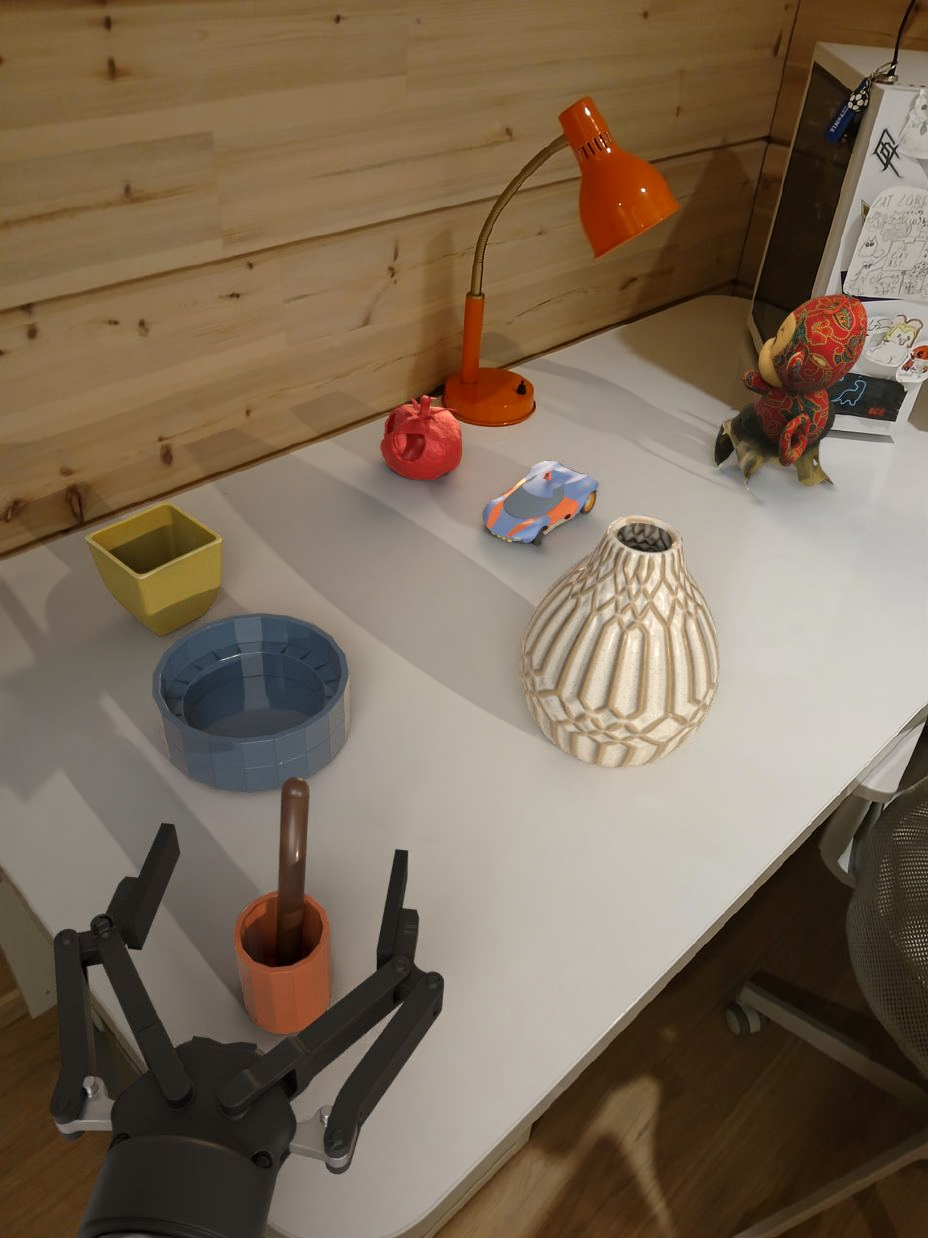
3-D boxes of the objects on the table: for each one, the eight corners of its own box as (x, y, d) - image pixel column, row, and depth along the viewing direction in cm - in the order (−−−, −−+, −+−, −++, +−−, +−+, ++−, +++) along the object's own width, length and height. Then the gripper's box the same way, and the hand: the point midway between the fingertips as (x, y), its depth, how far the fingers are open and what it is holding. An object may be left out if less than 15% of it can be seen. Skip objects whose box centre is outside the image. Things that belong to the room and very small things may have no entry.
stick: (271, 996, 61) (278, 785, 54) (278, 977, 62) (285, 769, 56) (296, 999, 61) (306, 789, 54) (302, 980, 62) (312, 773, 56)
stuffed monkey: (838, 447, 121) (917, 271, 101) (823, 541, 112) (906, 368, 92) (720, 419, 124) (774, 242, 104) (695, 509, 114) (749, 333, 94)
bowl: (135, 785, 74) (122, 731, 71) (196, 657, 86) (187, 605, 83) (329, 806, 74) (327, 753, 70) (363, 675, 86) (363, 622, 82)
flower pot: (153, 659, 86) (138, 578, 80) (100, 614, 90) (82, 534, 85) (234, 616, 91) (225, 537, 85) (180, 576, 95) (167, 498, 90)
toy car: (465, 532, 104) (468, 490, 101) (542, 480, 114) (547, 440, 111) (526, 561, 101) (531, 518, 97) (600, 505, 110) (607, 464, 107)
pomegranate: (436, 439, 120) (439, 369, 114) (477, 477, 114) (483, 404, 108) (365, 456, 116) (364, 384, 110) (403, 496, 109) (404, 422, 104)
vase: (641, 652, 90) (684, 465, 78) (734, 774, 79) (802, 579, 66) (484, 686, 85) (502, 492, 73) (558, 821, 74) (596, 619, 61)
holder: (233, 1029, 60) (221, 967, 55) (256, 948, 64) (248, 885, 60) (322, 1040, 60) (317, 979, 55) (339, 957, 64) (337, 894, 60)
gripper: (-104, 1262, 42) (88, 866, 59) (458, 1337, 41) (493, 913, 58) (-165, 1194, 38) (63, 784, 54) (469, 1277, 37) (504, 834, 53)
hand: (286, 850), depth 56 cm, fingers open, 13 cm apart
